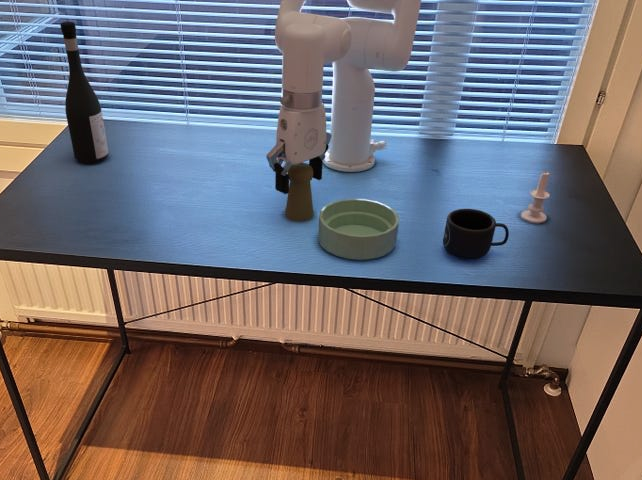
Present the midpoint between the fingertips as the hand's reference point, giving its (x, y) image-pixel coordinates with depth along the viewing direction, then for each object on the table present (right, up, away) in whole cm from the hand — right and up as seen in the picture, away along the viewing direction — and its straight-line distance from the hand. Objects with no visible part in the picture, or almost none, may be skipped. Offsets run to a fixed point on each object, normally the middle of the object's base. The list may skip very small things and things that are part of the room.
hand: (298, 184), depth 134 cm
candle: (+49, -6, +5) cm, 50 cm away
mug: (+33, -15, -6) cm, 37 cm away
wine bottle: (-49, +13, +26) cm, 57 cm away
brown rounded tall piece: (0, -5, +5) cm, 7 cm away
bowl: (+11, -12, -3) cm, 17 cm away
